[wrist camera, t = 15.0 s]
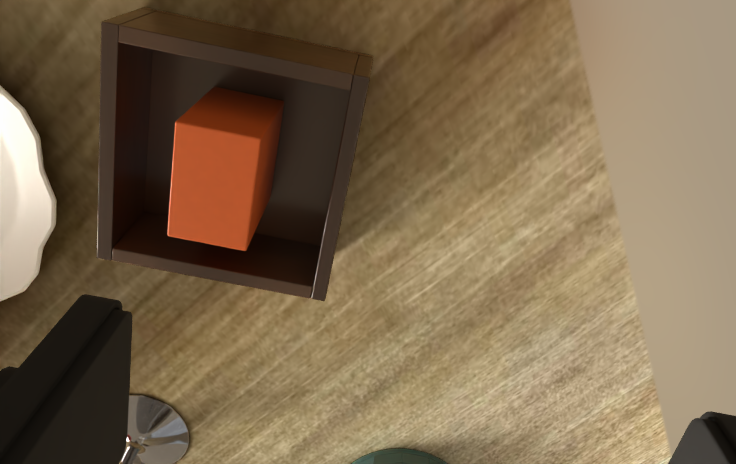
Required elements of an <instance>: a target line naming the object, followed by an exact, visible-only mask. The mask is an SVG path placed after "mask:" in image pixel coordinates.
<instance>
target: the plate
mask: <svg viewBox="0 0 736 464" xmlns="http://www.w3.org/2000/svg"><path fill="white" fill-rule="evenodd" d="M56 204H57V200H56V197H55V195H54V192H53V190H52V187H51V185H50V182H49V180H48V177H47V175H46V172H45V170H44V164H43V156H42V148H41V140H40V136H39V134H38V132H37V130H36V128H35V126H34V125H33V123H32V121H31V119H30V117H29V115H28V113H27V111H26V110H25V108H24V107H22V106H21V105H20V104H19V103H18V102H17V101H16V100H15V99H14V98H13V97H12V96H11V95H10V94H9V93H8V92H7V91H6V90H5V89H4V88H3V87H1V86H0V301H2V300H5V299H7V298H10V297H12V296H14V295H17V294H19V293H21V292H24V291H25V290H26V289H27V287H28V286H29V285H30V284H31V282H32V281H33V280H34V279H35V278H36V276H37V275H38V274H39V270H40V264H41V258H42V252H43V247H44V245H45V244H46V242H47V240H48V238H49V236H50V235H51V233H52V231H53V229H54V227H55V226H56Z"/></svg>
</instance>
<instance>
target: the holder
mask: <svg viewBox="0 0 736 464" xmlns="http://www.w3.org/2000/svg"><path fill="white" fill-rule="evenodd" d="M372 63H373V56H372V55H367V54H362V53H358V52H353V51H348V50H344V49H339V48H334V47H329V46H325V45H320V44H315V43H311V42H306V41H301V40H297V39H292V38H287V37H282V36H278V35H273V34H268V33H264V32H259V31H254V30H250V29H245V28H240V27H235V26H231V25H226V24H221V23H217V22H212V21H207V20H202V19H198V18H193V17H188V16H184V15H179V14H174V13H170V12H165V11H160V10H155V9H151V8H146V7H143V8H140V9H137V10H134V11H131V12H128V13H125V14H122V15H119V16H116V17H113V18H110V19H107V20H105V21H102V22H101V73H100V125H99V177H98V229H97V258H100V259H105V260H110V261H111V260H113V261H117V262H122V263H127V264H132V265H138V266H143V267H148V268H153V269H159V270H164V271H169V272H174V273H179V274H185V275H190V276H195V277H200V278H206V279H211V280H216V281H221V282H226V283H232V284H237V285H242V286H247V287H253V288H258V289H263V290H268V291H274V292H279V293H284V294H289V295H294V296H300V297H305V298H312V299H315V300H321V301H325V299H326V294H327V289H328V284H329V279H330V274H331V269H332V264H333V259H334V254H335V249H336V244H337V239H338V234H339V229H340V225H341V220H342V215H343V210H344V205H345V200H346V195H347V190H348V185H349V180H350V175H351V170H352V165H353V160H354V155H355V150H356V145H357V140H358V135H359V131H360V126H361V121H362V116H363V111H364V106H365V101H366V96H367V91H368V86H369V81H370V75H371V69H372ZM213 87H218V88H223V89H228V90H232V91H237V92H242V93H247V94H252V95H257V96H261V97H266V98H271V99H276V100H281V101H284V108H283V115H282V122H281V128H280V135H279V142H278V149H277V156H276V163H275V169H274V176H273V183H272V190H271V197H270V199H269V202H268V204H267V206H266V208H265V210H264V213H263V215H262V217H261V219H260V221H259V224H258V226H257V228H256V230H255V233H254V235H253V237H252V239H251V241H250V244H249V246H248V248H247V250H246V251H242V250H237V249H232V248H227V247H222V246H217V245H212V244H206V243H201V242H196V241H191V240H186V239H181V238H175V237H170V236H168V235H167V230H168V216H169V202H170V188H171V175H172V161H173V147H174V133H175V122H176V121H177V120H178V119H179V118H180V117H181V116H182V115H183V114H185V113H186V112H187V111H188V110H189V109H190V108H191V107H192V106H193V105H194V104H195V103H197V102H198V101H199V100H200V99H201V98H202V97H203V96H204V95H205V94H206V93H208V92H209V91H210V90H211V89H212V88H213Z"/></svg>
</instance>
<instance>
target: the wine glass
mask: <svg viewBox="0 0 736 464" xmlns="http://www.w3.org/2000/svg"><path fill="white" fill-rule="evenodd" d="M189 440H190V436H189V430H188V428H187V425H186V423H185V422H184V420H183V419H182V417H181V416H180V415H179V414H178V413H177V412H176V411H175V410H174V409H173V408H171V407H170V406H168V405H167V404H165V403H163V402H161V401H159V400H157V399H154V398H151V397H147V396H142V395H129V411H128V435H127V442H126V447H125V450H124V453H123V456H122V459H121V461H120V462H121V463H120V464H173V463H175V462H177V461H178V460H179V459H180V458H181V457H182V456H183V455H184V454H185V452H186V451H187V449H188V446H189Z"/></svg>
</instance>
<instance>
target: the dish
mask: <svg viewBox="0 0 736 464" xmlns="http://www.w3.org/2000/svg"><path fill="white" fill-rule="evenodd" d="M351 464H447V463H446V462H445V461H443V460H441V459H440V458H438V457H436V456H434V455H431V454H428V453H425V452H422V451H418V450H412V449H399V448H396V449H386V450H380V451H376V452H373V453H370V454H367V455H365V456H362V457H361V458H359V459H357V460H355V461H354V462H353V463H351Z"/></svg>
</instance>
